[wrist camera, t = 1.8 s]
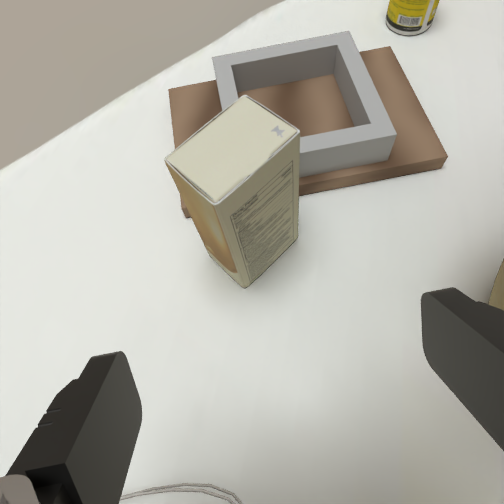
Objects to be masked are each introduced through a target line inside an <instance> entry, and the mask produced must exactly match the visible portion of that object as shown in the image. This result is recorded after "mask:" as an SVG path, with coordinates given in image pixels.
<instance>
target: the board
mask: <svg viewBox="0 0 504 504" xmlns="http://www.w3.org/2000/svg"><path fill="white" fill-rule="evenodd" d="M359 53H360V55H361V58H362V60H363V62H364V64H365V66H366V68H367V71H368V73H369V75H370V77H371V79H372V81H373V84H374V86H375V88H376V90H377V92H378V94H379V97H380V99H381V101H382V103H383V105H384V107H385V110H386V112H387V114H388V116H389V118H390V120H391V123H392V125H393V127H394V129H395V131H396V133H397V136H396V138H395V141H394V144H393V147H392V149H391V152H390V155H389V158H388V160H387V161H382V162H377V163H372V164H367V165H362V166H357V167H352V168H346V169H341V170H336V171H331V172H326V173H321V174H316V175H310V176H305V177H300V178H299V196H301V195H306V194H311V193H316V192H322V191H327V190H332V189H337V188H342V187H347V186H352V185H358V184H363V183H368V182H373V181H378V180H383V179H388V178H393V177H399V176H404V175H409V174H414V173H419V172H424V171H429V170H434V169H440V168H442V166H443V164H444V162H445V161H446V159H447V157H448V156H447V154H446V152H445V150H444V148H443V146H442V144H441V142H440V140H439V138H438V137H437V135H436V133H435V131H434V129H433V127H432V125H431V123H430V121H429V119H428V117H427V116H426V114H425V112H424V110H423V108H422V106H421V104H420V102H419V100H418V98H417V96H416V95H415V93H414V91H413V89H412V87H411V85H410V83H409V81H408V79H407V77H406V75H405V74H404V72H403V70H402V68H401V66H400V64H399V62H398V60H397V58H396V56H395V54H394V53H393V51H392V49H391V47H390V46H389V47H383V48H378V49H373V50H368V51H363V52H359ZM168 90H169V99H170V108H171V117H172V126H173V135H174V144H175V149H176V148H177V147H179V146H180V145H181V144H182V143H183V142H184V141H186V140H187V139H188V138H189V137H190V136H192V135H193V134H194V133H195V132H197V131H198V130H199V129H200V128H201V127H203V126H204V125H205V124H206V123H208V122H209V121H210V120H211V119H212V118H214V117H215V116H216V115H218V114H219V113H220V112H221V111H222V106H221V101H220V96H219V91H218V86H217V81H216V80H213V81H208V82H203V83H197V84H192V85H187V86H182V87H177V88H172V89H168ZM237 94H238V99H239V98H240V97H241V96H243V95H247V96H249V97H250V98H252V99H253V100H255V101H257V102H259V103H260V104H262V105H263V106H265V107H266V108H268V109H269V110H271V111H272V112H274V113H275V114H277V115H278V116H280V117H281V118H283V119H284V120H286V121H287V122H288V123H290V124H291V125H293V126H294V127H296V128H297V129H299V130H300V137H305V136H310V135H315V134H320V133H325V132H330V131H336V130H341V129H346V128H351V127H355V126H354V124H353V121H352V119H351V116H350V114H349V111H348V109H347V106H346V104H345V101H344V99H343V96H342V94H341V91H340V89H339V86H338V84H337V81H336V79H335V76H334V74H330V75H325V76H320V77H315V78H310V79H305V80H299V81H294V82H289V83H284V84H279V85H274V86H268V87H263V88H258V89H253V90H248V91H243V92H237ZM180 198H181V207H182V210H183V213H184V215H185V217H186V218H188V217H191V216H190V214H189V211H188V209H187V207H186V205H185V203H184V201H183V199H182V197H181V195H180Z"/></svg>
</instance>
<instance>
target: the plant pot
mask: <svg viewBox="0 0 504 504" xmlns="http://www.w3.org/2000/svg"><path fill="white" fill-rule="evenodd" d="M488 305H491V306H494V307H497V308H500V309H502V310H503V311H504V259H503V262H502V264H501V266H500V269H499V271H498V274H497V277H496V279H495V282H494V286H493V289H492V292H491V296H490V300H489V304H488Z"/></svg>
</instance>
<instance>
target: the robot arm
mask: <svg viewBox="0 0 504 504" xmlns="http://www.w3.org/2000/svg"><path fill="white" fill-rule="evenodd" d="M421 317H422V341H423V349H424V353H425V356H426V359H427V361H428V363H429V365H430V366H431V368H432V369H433V370H434V371H435V372H436V374H437V375H438V376H439V377H440V378H441V379H442V380H443V382H444V383H445V384H446V385H447V386H448V387H449V389H450V390H451V391H452V392H453V393H454V394H455V395H456V397H457V398H458V399H459V400H460V401H461V402H462V404H463V405H464V406H465V407H466V408H467V409H468V410H469V412H470V413H471V414H472V415H473V416H474V417H475V418H476V420H477V421H478V422H479V423H480V424H481V425H482V427H483V428H484V429H485V430H486V431H487V432H488V433H489V435H490V436H491V437H492V438H493V439H494V440H495V442H496V443H497V444H498V445H499V446H500V447H501V448H502V450H503V451H504V311H503V310H502V309H500V308H497V307H494V306H491V305H488V304H485V303H482V302H475V301H474V300H472V299H471V298H469V297H468V296H466V295H465V294H463V293H462V292H460V291H459V290H458V289H456V288H447V289H442V290H436V291H431V292H426V293H424V294H423V295H422V297H421ZM141 422H142V406H141V400H140V397H139V394H138V391H137V388H136V385H135V382H134V379H133V376H132V373H131V370H130V367H129V363H128V360H127V358H126V356H125V354H124V353H123V352H122V351H119V352H114V353H108V354H103V355H98V356H93V357H91V358H90V360H89V361H88V363H87V365H86V367H85V368H84V370H83V372H82V373H81V375H80V377H79V379H75V380H72V381H71V382H70V383H69V384H68V385H67V386H66V387H65V388H63V389H62V390H61V391H60V392H59V393H58V394H57V395H56V396H55V398H54V400H53V401H52V403H51V404H50V406H49V408H48V409H47V414H44V415H43V417H42V419H41V420H40V422H39V423H38V428H35V430H34V431H33V433H32V434H31V436H30V438H29V439H28V441H27V442H26V444H25V446H24V447H23V449H22V450H21V452H20V454H19V455H18V457H17V458H16V460H15V461H14V463H13V465H12V466H11V468H10V469H9V471H8V473H7V474H6V476H4V477H1V478H0V504H119V501H120V497H121V494H122V490H123V487H124V483H125V480H126V476H127V472H128V469H129V465H130V462H131V458H132V455H133V451H134V448H135V444H136V440H137V437H138V433H139V430H140V426H141Z"/></svg>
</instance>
